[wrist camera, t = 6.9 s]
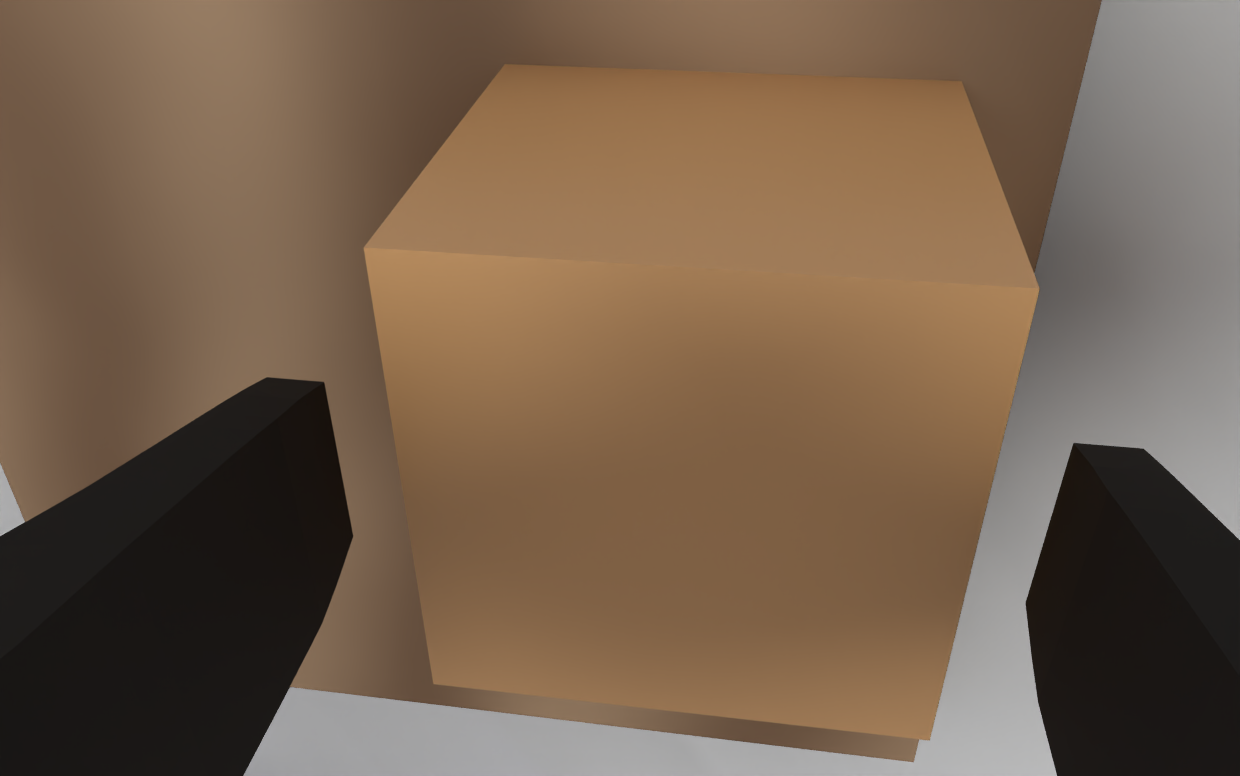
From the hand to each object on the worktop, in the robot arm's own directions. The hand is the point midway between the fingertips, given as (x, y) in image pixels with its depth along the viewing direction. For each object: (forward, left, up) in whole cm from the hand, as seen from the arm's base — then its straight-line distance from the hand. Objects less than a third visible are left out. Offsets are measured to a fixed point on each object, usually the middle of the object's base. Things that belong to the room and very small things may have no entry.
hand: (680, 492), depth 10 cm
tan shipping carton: (0, 0, -5) cm, 5 cm away
